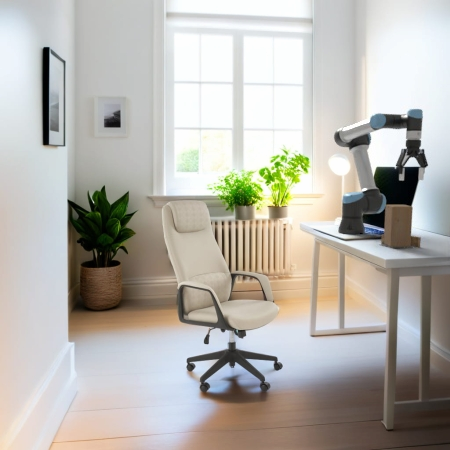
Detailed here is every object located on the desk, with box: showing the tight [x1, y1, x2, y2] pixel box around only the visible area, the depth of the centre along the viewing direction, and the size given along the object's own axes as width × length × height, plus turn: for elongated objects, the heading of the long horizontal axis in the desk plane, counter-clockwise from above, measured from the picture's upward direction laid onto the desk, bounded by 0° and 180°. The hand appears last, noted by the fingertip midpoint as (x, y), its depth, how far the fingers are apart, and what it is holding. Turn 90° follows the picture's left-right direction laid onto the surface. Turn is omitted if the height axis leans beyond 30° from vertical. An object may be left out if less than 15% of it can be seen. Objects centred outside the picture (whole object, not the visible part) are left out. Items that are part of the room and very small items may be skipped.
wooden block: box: [383, 204, 413, 248], centre depth 246 cm, size 10×10×20 cm
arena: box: [378, 233, 421, 250], centre depth 248 cm, size 15×14×5 cm
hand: (411, 180), depth 263 cm, fingers open, 13 cm apart
